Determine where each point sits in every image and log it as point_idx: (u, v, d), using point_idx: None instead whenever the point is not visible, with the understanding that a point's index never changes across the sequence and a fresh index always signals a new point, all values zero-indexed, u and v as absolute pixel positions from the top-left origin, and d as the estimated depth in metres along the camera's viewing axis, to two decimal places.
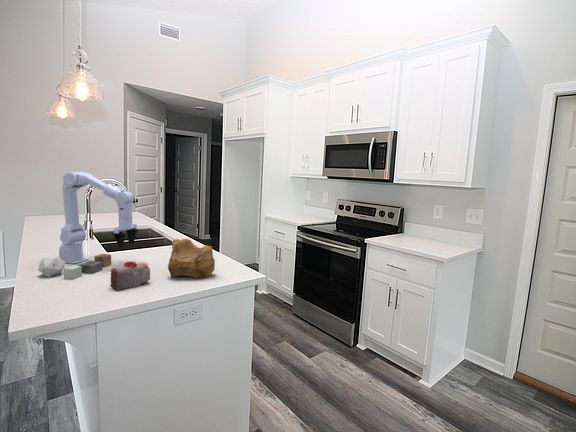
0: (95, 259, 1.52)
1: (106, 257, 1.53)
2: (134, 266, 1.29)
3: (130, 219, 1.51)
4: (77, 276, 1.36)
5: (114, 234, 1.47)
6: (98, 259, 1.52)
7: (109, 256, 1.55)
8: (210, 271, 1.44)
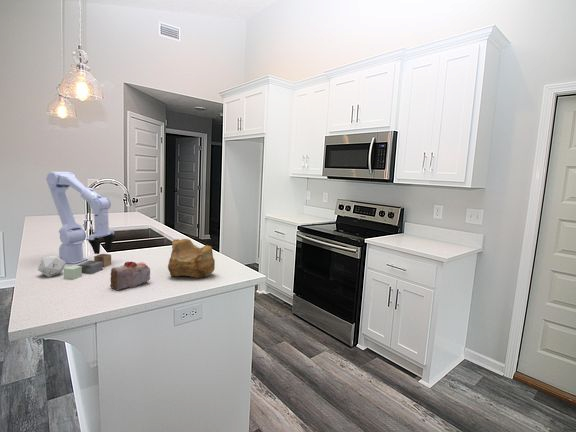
0: (95, 259, 1.52)
1: (106, 257, 1.53)
2: (134, 266, 1.29)
3: (106, 225, 1.51)
4: (77, 276, 1.36)
5: (89, 240, 1.47)
6: (98, 259, 1.52)
7: (109, 256, 1.55)
8: (210, 271, 1.44)
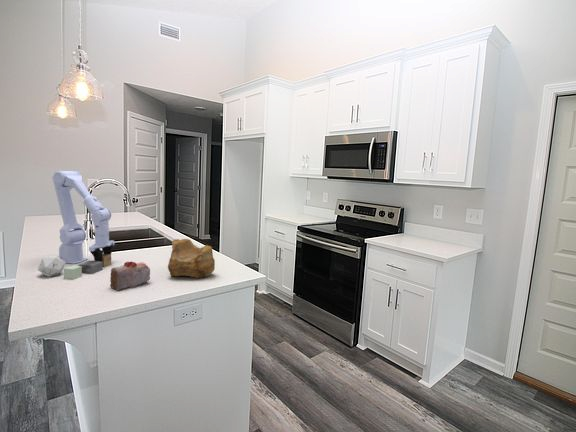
0: None
1: (106, 257, 1.53)
2: (134, 266, 1.29)
3: (106, 236, 1.52)
4: (77, 276, 1.36)
5: (91, 251, 1.49)
6: None
7: (109, 256, 1.55)
8: (210, 271, 1.44)
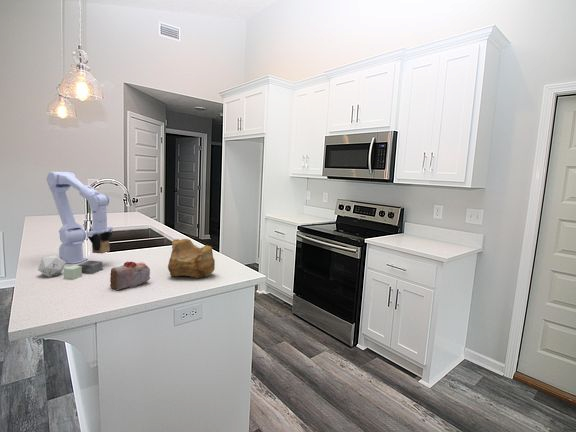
0: None
1: (104, 243, 1.51)
2: (134, 266, 1.29)
3: (104, 222, 1.50)
4: (77, 276, 1.36)
5: (89, 237, 1.47)
6: None
7: (107, 242, 1.53)
8: (210, 271, 1.44)
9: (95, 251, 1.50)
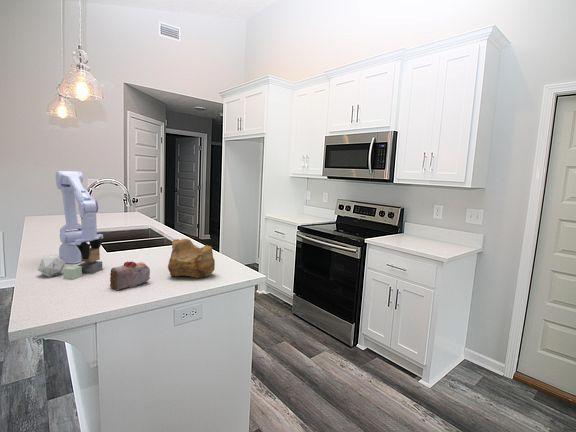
0: None
1: (94, 251, 1.43)
2: (134, 266, 1.29)
3: (94, 229, 1.42)
4: (77, 276, 1.36)
5: (78, 245, 1.39)
6: None
7: (97, 250, 1.45)
8: (210, 271, 1.44)
9: (84, 260, 1.42)
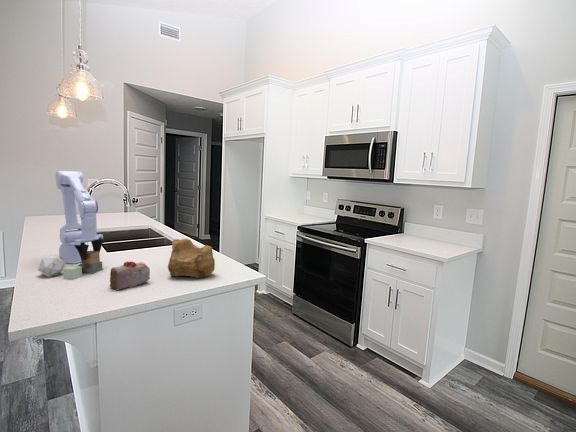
0: None
1: (94, 254, 1.43)
2: (134, 266, 1.29)
3: (94, 229, 1.42)
4: (77, 276, 1.36)
5: (76, 246, 1.38)
6: None
7: (97, 253, 1.45)
8: (210, 271, 1.44)
9: (84, 263, 1.42)
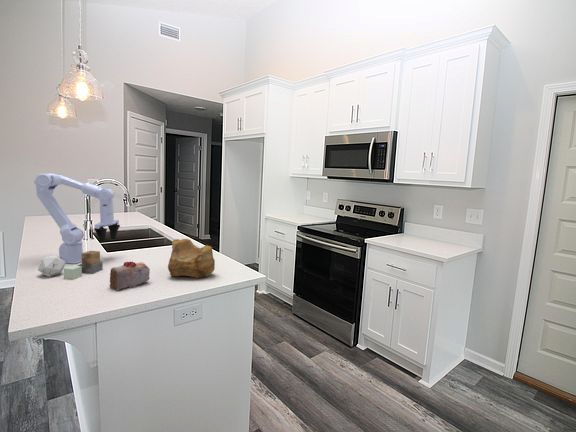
0: (82, 256, 1.42)
1: (94, 254, 1.43)
2: (133, 266, 1.29)
3: (111, 215, 1.58)
4: (77, 276, 1.36)
5: (95, 229, 1.54)
6: (86, 257, 1.42)
7: (98, 253, 1.45)
8: (210, 271, 1.44)
9: (85, 262, 1.43)
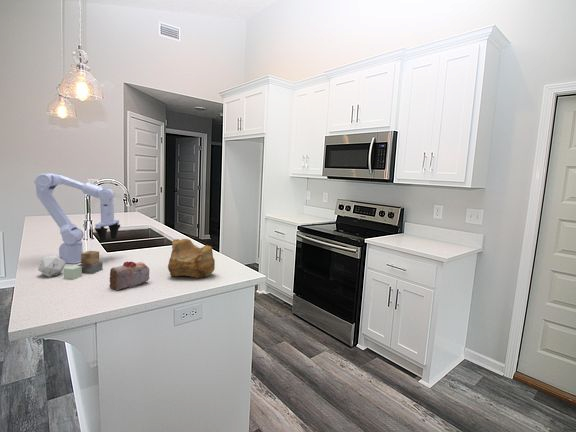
0: (82, 256, 1.42)
1: (94, 254, 1.43)
2: (133, 266, 1.29)
3: (112, 215, 1.59)
4: (77, 276, 1.36)
5: (96, 229, 1.55)
6: (86, 257, 1.42)
7: (97, 253, 1.45)
8: (210, 271, 1.44)
9: (84, 263, 1.42)
